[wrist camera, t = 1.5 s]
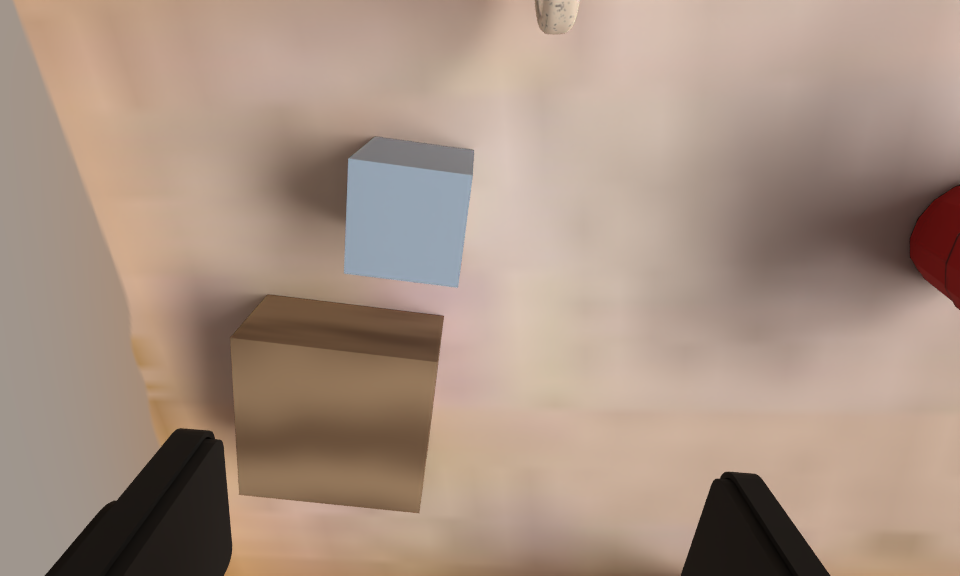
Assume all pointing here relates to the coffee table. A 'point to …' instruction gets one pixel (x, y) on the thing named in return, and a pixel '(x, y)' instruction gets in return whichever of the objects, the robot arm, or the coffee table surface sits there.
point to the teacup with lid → (556, 15)
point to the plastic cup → (939, 244)
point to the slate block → (407, 211)
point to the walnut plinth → (334, 402)
